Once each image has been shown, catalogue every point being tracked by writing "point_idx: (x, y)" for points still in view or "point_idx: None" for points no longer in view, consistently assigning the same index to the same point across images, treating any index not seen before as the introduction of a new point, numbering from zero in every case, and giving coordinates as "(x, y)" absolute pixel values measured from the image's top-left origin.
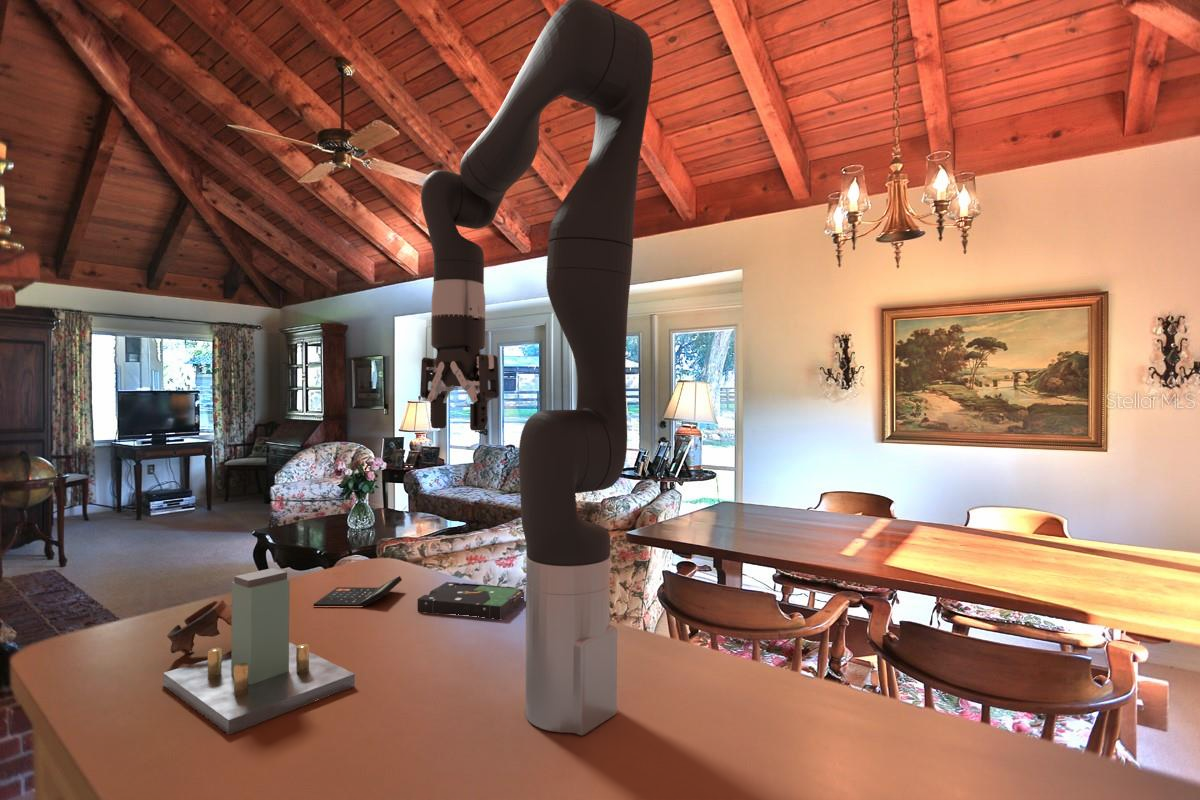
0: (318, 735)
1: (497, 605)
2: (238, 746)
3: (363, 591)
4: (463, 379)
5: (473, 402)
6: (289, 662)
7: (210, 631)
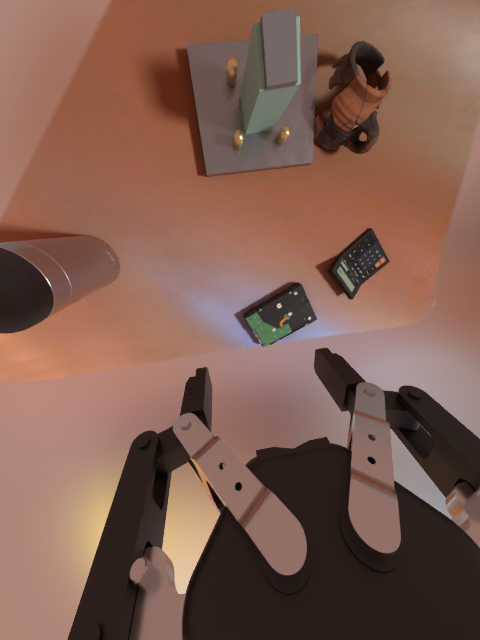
0: (149, 114)
1: (248, 318)
2: (165, 52)
3: (363, 272)
4: (214, 473)
5: (187, 413)
6: (260, 143)
7: (334, 76)
